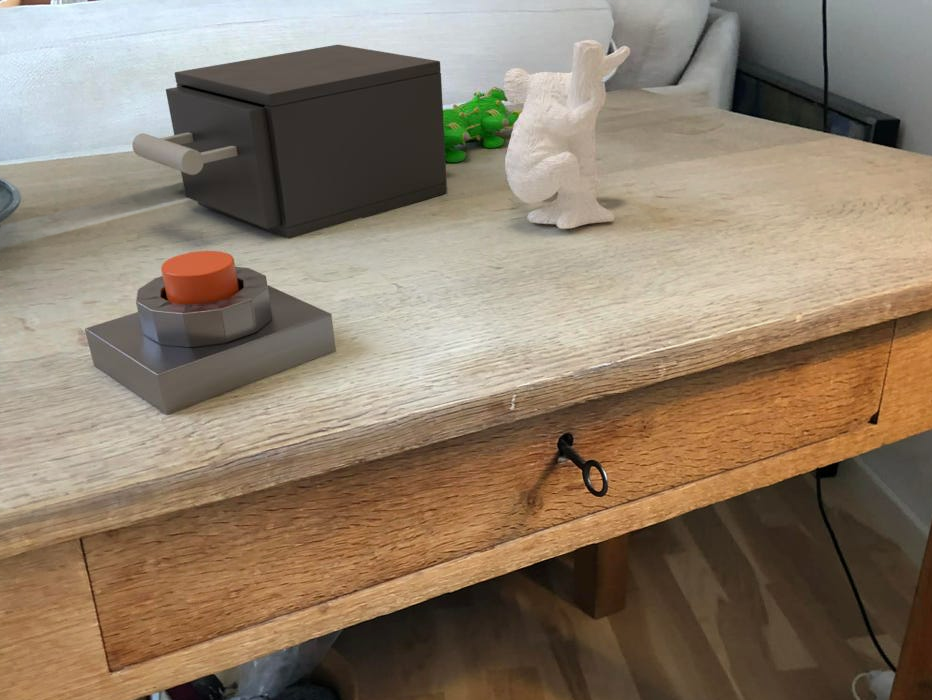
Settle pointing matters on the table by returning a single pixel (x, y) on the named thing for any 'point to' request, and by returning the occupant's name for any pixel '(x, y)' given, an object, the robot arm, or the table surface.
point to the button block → (208, 342)
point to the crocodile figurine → (476, 123)
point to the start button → (200, 277)
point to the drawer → (219, 153)
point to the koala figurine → (560, 136)
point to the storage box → (341, 130)
